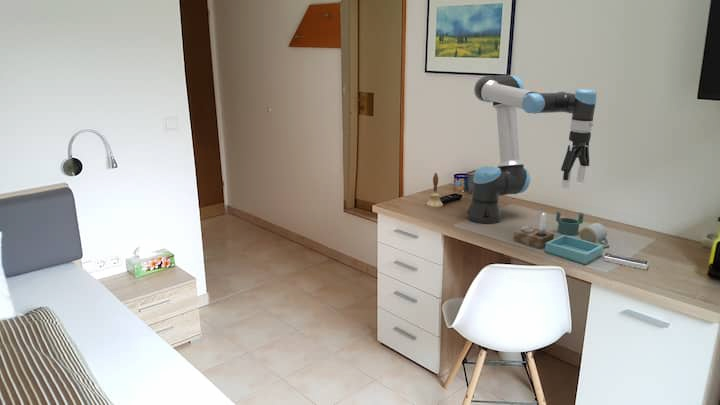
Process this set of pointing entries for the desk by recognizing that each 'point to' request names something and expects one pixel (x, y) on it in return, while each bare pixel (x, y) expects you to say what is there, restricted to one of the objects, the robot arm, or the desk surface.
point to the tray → (574, 249)
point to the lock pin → (542, 224)
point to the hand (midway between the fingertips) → (572, 184)
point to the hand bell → (435, 195)
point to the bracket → (568, 224)
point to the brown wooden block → (532, 237)
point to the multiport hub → (626, 261)
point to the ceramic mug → (595, 234)
